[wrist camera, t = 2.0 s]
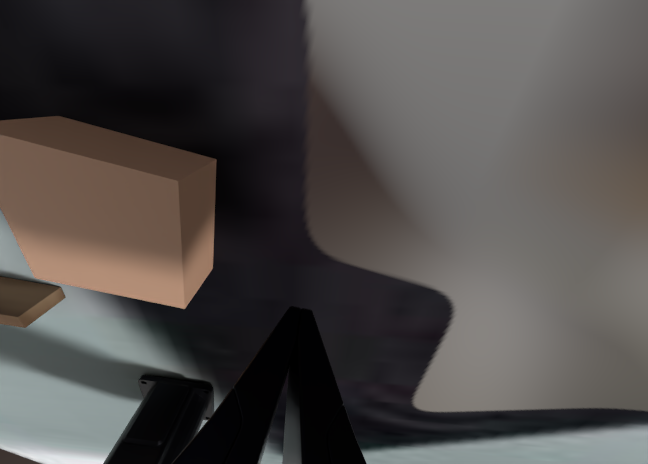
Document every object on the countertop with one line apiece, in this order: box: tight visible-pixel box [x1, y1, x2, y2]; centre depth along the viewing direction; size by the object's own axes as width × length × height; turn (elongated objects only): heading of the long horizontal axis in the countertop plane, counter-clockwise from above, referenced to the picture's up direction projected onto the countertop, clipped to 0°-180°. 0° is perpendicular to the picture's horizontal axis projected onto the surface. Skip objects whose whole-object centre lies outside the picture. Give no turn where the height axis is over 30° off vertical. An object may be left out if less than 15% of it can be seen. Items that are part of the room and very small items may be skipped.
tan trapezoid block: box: [0, 116, 217, 309], centre depth 11 cm, size 7×7×4 cm
